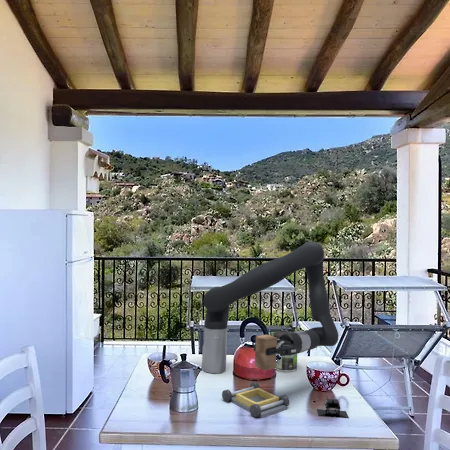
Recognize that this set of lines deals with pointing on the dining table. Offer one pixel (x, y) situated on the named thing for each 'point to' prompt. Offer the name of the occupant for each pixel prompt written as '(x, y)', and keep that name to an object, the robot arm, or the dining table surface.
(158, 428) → the dining table surface
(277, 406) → the chassis
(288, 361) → the coffee can
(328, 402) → the black angular machine part
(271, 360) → the brown wooden block
